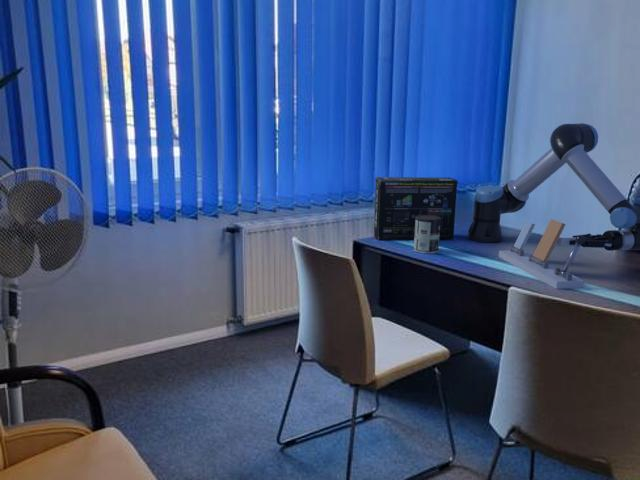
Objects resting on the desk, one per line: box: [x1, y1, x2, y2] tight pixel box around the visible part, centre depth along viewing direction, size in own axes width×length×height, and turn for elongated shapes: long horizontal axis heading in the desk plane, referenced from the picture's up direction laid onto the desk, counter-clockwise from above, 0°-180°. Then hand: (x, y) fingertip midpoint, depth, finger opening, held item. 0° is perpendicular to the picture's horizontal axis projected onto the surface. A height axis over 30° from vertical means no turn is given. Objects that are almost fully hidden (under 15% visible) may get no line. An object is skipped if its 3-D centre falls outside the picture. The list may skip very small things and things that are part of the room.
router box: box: [373, 176, 459, 241], centre depth 247 cm, size 36×11×27 cm, turn 96°
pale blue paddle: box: [512, 220, 536, 254], centre depth 217 cm, size 2×5×13 cm, turn 11°
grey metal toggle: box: [556, 234, 585, 278], centre depth 188 cm, size 3×5×15 cm, turn 11°
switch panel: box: [498, 244, 585, 290], centre depth 204 cm, size 10×39×5 cm, turn 11°
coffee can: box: [413, 215, 441, 255], centre depth 227 cm, size 10×10×14 cm
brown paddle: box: [530, 218, 566, 266], centre depth 202 cm, size 2×8×17 cm, turn 11°
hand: (560, 241), depth 203 cm, fingers closed
